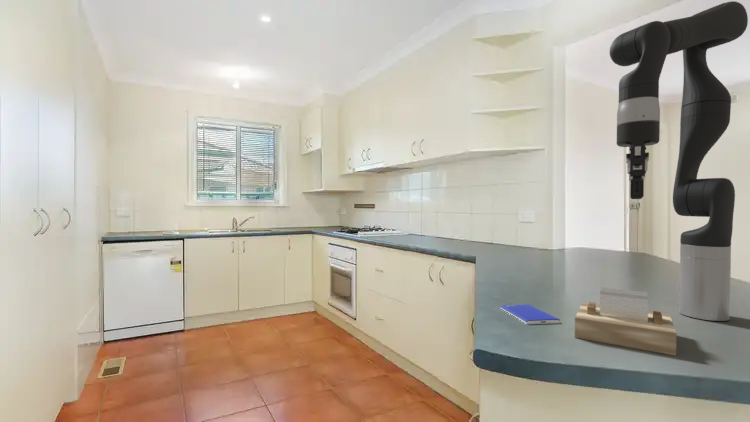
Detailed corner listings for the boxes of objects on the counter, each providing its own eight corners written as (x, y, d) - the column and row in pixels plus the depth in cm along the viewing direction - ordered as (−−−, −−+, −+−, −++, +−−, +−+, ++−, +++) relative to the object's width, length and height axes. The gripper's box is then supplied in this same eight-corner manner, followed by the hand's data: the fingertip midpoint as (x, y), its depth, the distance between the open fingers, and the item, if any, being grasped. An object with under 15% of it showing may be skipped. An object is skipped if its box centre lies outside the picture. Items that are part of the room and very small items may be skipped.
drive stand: (581, 320, 88) (582, 296, 88) (669, 333, 79) (669, 307, 79) (574, 337, 76) (575, 310, 76) (676, 355, 67) (676, 324, 67)
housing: (647, 316, 77) (647, 292, 77) (647, 322, 73) (648, 296, 73) (601, 310, 81) (601, 287, 81) (599, 315, 78) (600, 291, 78)
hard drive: (500, 305, 97) (526, 320, 84) (530, 304, 98) (560, 318, 86) (500, 311, 97) (526, 327, 84) (530, 310, 98) (560, 325, 86)
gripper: (662, 113, 73) (660, 197, 73) (657, 126, 84) (656, 199, 85) (615, 118, 77) (614, 198, 77) (617, 130, 89) (616, 199, 89)
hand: (636, 198), depth 81 cm, fingers open, 8 cm apart
